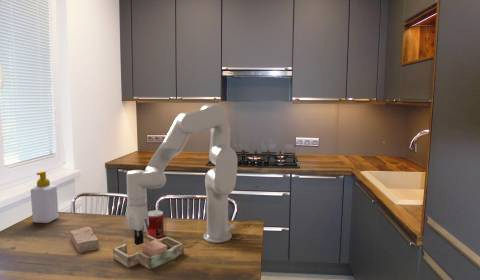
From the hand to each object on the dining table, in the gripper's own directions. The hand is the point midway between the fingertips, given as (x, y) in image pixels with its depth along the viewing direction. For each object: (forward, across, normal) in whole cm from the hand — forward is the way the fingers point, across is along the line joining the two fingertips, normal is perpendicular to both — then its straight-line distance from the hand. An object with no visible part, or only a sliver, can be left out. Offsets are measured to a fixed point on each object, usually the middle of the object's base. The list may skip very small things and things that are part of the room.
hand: (139, 243), depth 147 cm
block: (+3, +12, 0) cm, 12 cm away
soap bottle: (+3, -65, -12) cm, 66 cm away
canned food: (+3, -7, +13) cm, 15 cm away
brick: (+3, -23, -12) cm, 26 cm away
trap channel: (+3, +7, 0) cm, 8 cm away
